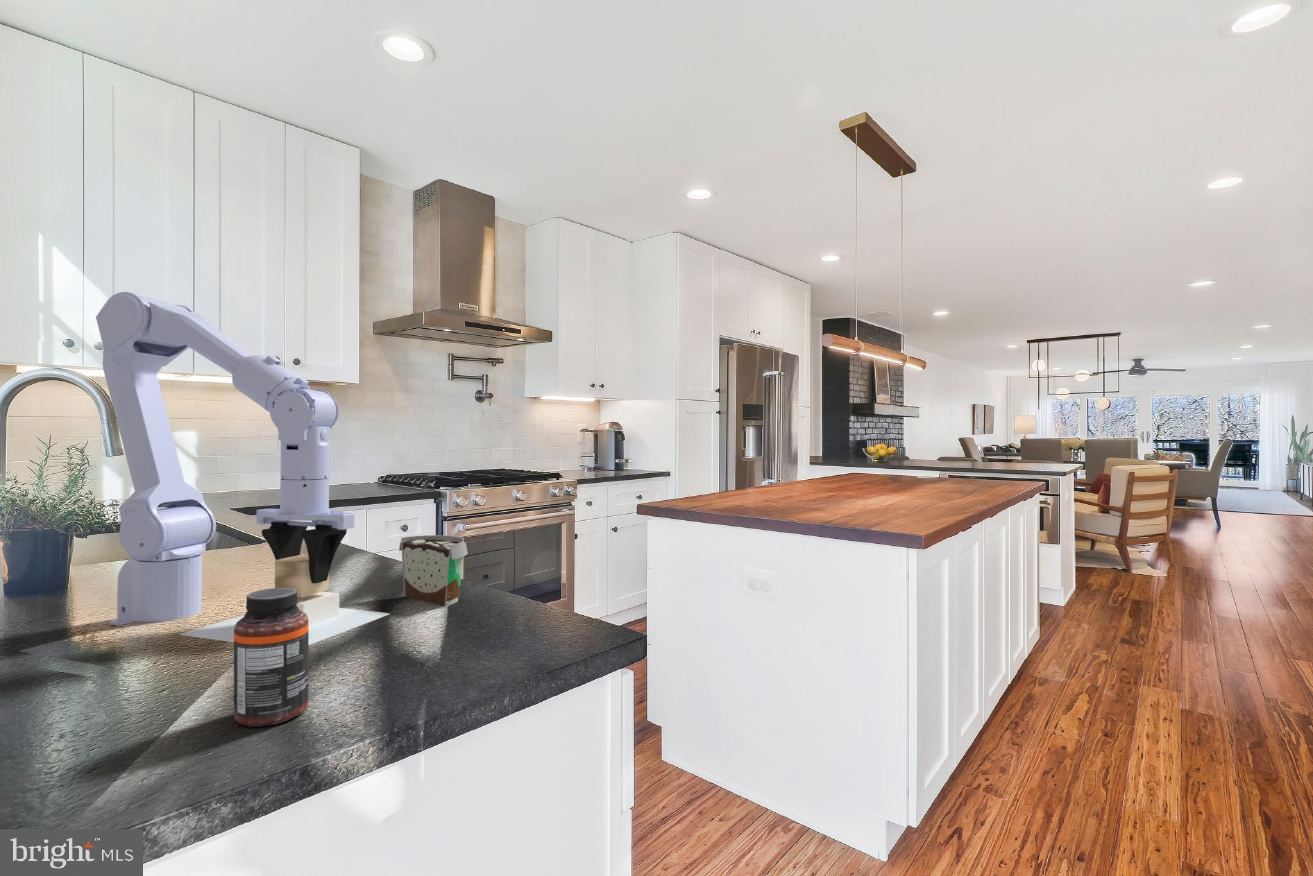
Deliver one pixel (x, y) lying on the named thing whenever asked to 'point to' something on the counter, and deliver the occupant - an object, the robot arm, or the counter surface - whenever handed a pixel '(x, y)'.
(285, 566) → the maple block
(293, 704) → the supplement bottle
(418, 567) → the food container
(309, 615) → the base block
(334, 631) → the white flat panel
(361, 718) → the counter surface
